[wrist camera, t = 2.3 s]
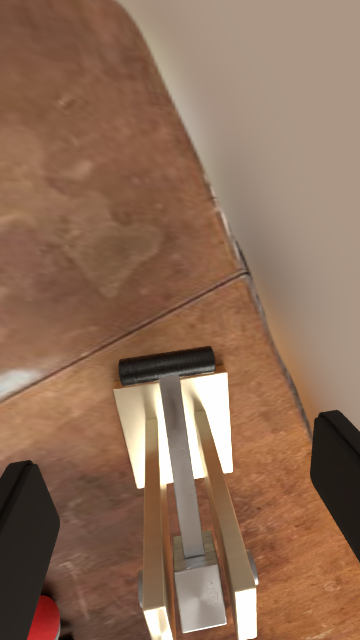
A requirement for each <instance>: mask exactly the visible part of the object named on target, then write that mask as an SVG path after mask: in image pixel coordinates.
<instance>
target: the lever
mask: <svg viewBox="0 0 360 640" xmlns="http://www.w3.org/2000/svg"><path fill="white" fill-rule="evenodd" d="M215 369H216V364H215V357H214V353H213V349H212V347H211V346H206V347H199V348H192V349H186V350H179V351H172V352H166V353H159V354H153V355H146V356H139V357H133V358H126V359H120V360H119V364H118V370H119V378H120V382H121V384H122V386H130V385H136V384H143V383H149V382H156V381H159V386H160V393H161V400H162V407H163V414H164V421H165V429H166V436H167V443H168V450H169V457H170V464H171V471H172V478H173V485H174V492H175V499H176V506H177V513H178V520H179V527H180V534H181V536H178V537H174V538H173V568H174V580H175V587H176V594H177V601H178V608H179V615H180V623H181V630H182V632H183V633H187V632H192V631H197V630H201V629H206V628H211V627H216V626H221V625H225V624H227V618H226V611H225V604H224V597H223V590H222V584H221V577H220V570H219V564H218V559H217V555H216V551H215V546H214V542H213V537H212V533H211V531H204V532H202V528H201V521H200V514H199V507H198V500H197V494H196V487H195V480H194V473H193V466H192V459H191V452H190V445H189V439H188V432H187V425H186V418H185V411H184V404H183V397H182V390H181V384H180V378H181V377H188V376H194V375H200V374H207V373H213V372H215Z"/></svg>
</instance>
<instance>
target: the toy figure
mask: <svg viewBox="0 0 360 640" xmlns="http://www.w3.org/2000/svg"><path fill="white" fill-rule="evenodd" d="M59 633H60V614H59V610H58V607H57V605H56V603H55V602H54V601H53V600H52V599H51V598H49V597H48V596H44V595H40V597H39V601H38V604H37V608H36V611H35V614H34V618H33V621H32V625H31V628H30V631H29V635H28V638H27V640H64V639H59V638H58V637H59ZM70 640H73V639H70Z"/></svg>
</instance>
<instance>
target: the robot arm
mask: <svg viewBox="0 0 360 640" xmlns="http://www.w3.org/2000/svg"><path fill="white" fill-rule="evenodd" d="M310 477H311V481H312V483H313V485H314V487H315V489H316V490H317V492H318V494H319V495H320V497H321V499H322V500H323V502H324V504H325V505H326V507H327V509H328V510H329V512H330V514H331V515H332V517H333V519H334V520H335V522H336V524H337V525H338V527H339V529H340V530H341V532H342V534H343V535H344V537H345V539H346V540H347V542H348V544H349V545H350V547H351V549H352V550H353V552H354V554H355V555H356V557H357V559H358V560H359V562H360V431H358V429H357V428H356V427H355V426H354V425H353V424H352V423H351V422H350V421H349V420H348V419H347V418H346V417H345V416H344V415H343V414H342V413H341V412H340V411H338V410H333V411H327V412H321V413H319V415H318V418H315V420H314V431H313V444H312V456H311V468H310ZM59 527H60V519H59V516H58V513H57V511H56V508H55V506H54V504H53V501H52V499H51V496H50V494H49V491H48V489H47V487H46V484H45V482H44V479H43V477H42V474H41V472H40V469H39V467H38V465H37V464H33V463H32V461H30V460H27V461H21V462H15V463H10V464H9V465H8V466H7V468H6V469H5V471H4V473H3V475H2V476H1V478H0V640H27V638H28V635H29V631H30V628H31V625H32V621H33V618H34V614H35V611H36V608H37V604H38V601H39V597H40V594H41V590H42V587H43V584H44V580H45V577H46V573H47V570H48V566H49V563H50V560H51V556H52V553H53V549H54V546H55V543H56V539H57V536H58V532H59Z"/></svg>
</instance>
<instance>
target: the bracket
mask: <svg viewBox="0 0 360 640" xmlns="http://www.w3.org/2000/svg"><path fill="white" fill-rule="evenodd" d="M180 384H181V390H182V397H183V404H184V411H185V418H186V425H187V432H188V439H189V445H190V452H191V459H192V466H193V473H194V479H195V478H201V477H204V480H205V485H206V490H207V495H208V499H209V504H210V509H211V514H212V519H213V524H214V529H215V533H216V538H217V543H218V548H219V553H220V558H221V562H222V567H223V572H224V577H225V582H226V587H227V591H228V596H229V601H230V606H231V611H232V616H233V621H234V625H235V630H236V635H237V639H238V640H245V639H249V638H254V637H257V604H256V585H258V583H259V580H258V573H257V569H256V564H255V561H254V557H253V555H252V552H251V550H250V549H247V550H246V549H245V546H244V542H243V539H242V535H241V532H240V528H239V525H238V521H237V518H236V514H235V511H234V507H233V504H232V500H231V497H230V493H229V490H228V486H227V483H226V479H225V476H224V473H229V472H233V462H232V444H231V426H230V408H229V390H228V372H227V370H226V368H225V366H224V365H218V366H216V369H215V372H213V373H207V374H200V375H194V376H188V377H181V378H180ZM113 393H114V397H115V401H116V405H117V409H118V413H119V417H120V421H121V425H122V430H123V434H124V438H125V442H126V446H127V450H128V454H129V458H130V462H131V466H132V470H133V474H134V478H135V482H136V486H137V488H144V543H143V570H140V571H139V575H138V597H139V604H140V607H141V608H142V610H143V613H144V616H145V620H146V623H147V626H148V629H149V632H150V636H151V639H152V640H176V628H175V612H174V596H173V581H172V565H171V549H170V533H169V518H168V502H167V486H166V484H167V483H172V482H173V478H172V471H171V464H170V457H169V450H168V443H167V436H166V429H165V421H164V414H163V407H162V400H161V393H160V386H159V381H156V382H149V383H143V384H136V385H130V386H122V384H121V382H120V381H115V382H114V387H113Z"/></svg>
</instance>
